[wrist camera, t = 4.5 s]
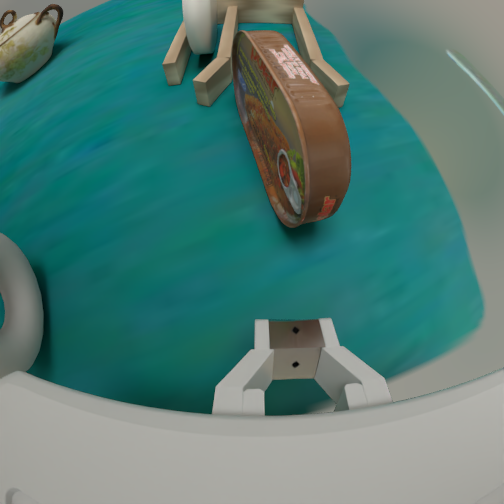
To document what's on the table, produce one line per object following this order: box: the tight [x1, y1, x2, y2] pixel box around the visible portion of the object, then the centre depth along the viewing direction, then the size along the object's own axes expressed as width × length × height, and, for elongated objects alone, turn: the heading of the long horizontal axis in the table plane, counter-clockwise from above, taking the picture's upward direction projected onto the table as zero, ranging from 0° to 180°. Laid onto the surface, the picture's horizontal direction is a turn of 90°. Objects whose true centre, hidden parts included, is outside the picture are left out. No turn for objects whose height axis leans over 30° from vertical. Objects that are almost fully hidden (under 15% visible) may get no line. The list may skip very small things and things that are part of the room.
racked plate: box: [182, 0, 217, 55], centre depth 19 cm, size 2×11×11 cm, turn 0°
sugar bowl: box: [0, 4, 63, 83], centre depth 21 cm, size 20×15×15 cm
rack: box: [163, 0, 349, 107], centre depth 22 cm, size 16×19×4 cm
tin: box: [232, 30, 351, 228], centre depth 16 cm, size 15×3×8 cm, turn 15°
